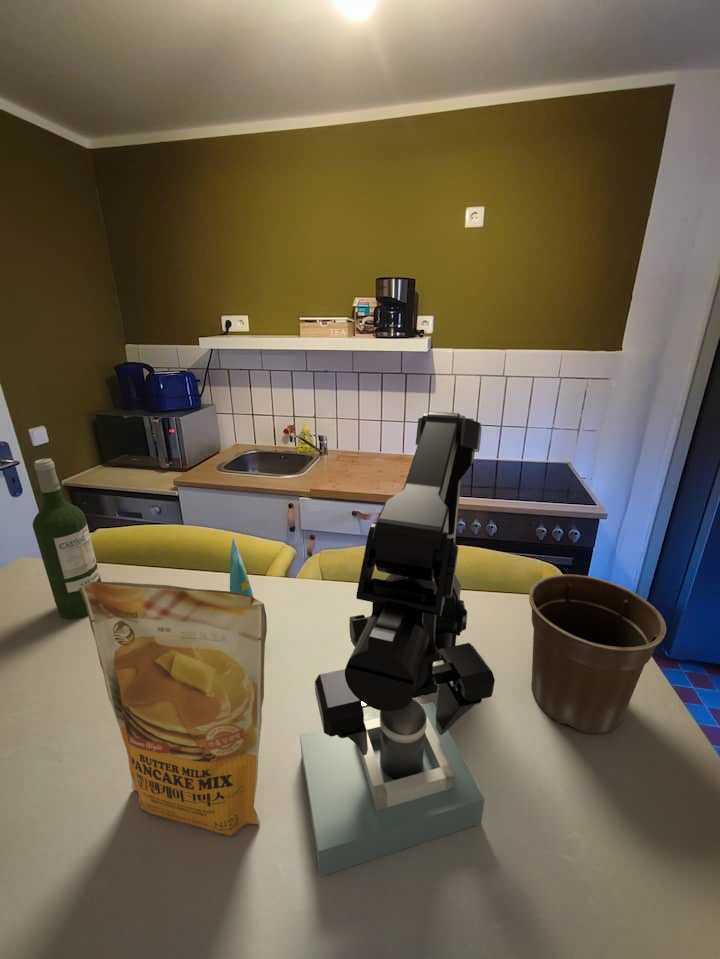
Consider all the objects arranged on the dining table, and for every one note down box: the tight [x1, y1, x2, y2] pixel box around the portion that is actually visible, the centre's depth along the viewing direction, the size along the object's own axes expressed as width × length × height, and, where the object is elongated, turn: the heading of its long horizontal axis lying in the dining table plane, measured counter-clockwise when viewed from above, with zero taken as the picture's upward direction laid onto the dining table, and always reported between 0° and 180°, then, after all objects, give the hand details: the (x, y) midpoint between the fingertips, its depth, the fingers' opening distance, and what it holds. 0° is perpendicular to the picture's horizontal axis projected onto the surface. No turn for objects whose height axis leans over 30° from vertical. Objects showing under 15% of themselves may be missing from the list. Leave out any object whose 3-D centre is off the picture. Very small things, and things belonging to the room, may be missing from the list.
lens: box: [379, 698, 427, 780], centre depth 49 cm, size 5×5×7 cm
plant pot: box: [528, 573, 667, 735], centre depth 60 cm, size 16×16×16 cm
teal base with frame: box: [299, 701, 485, 878], centre depth 50 cm, size 18×13×6 cm
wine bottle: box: [32, 458, 102, 620], centre depth 79 cm, size 8×8×30 cm
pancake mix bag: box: [79, 581, 268, 837], centre depth 45 cm, size 7×19×28 cm, turn 76°
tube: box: [229, 536, 254, 598], centre depth 70 cm, size 7×5×19 cm, turn 27°
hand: (402, 741), depth 49 cm, fingers open, 9 cm apart
